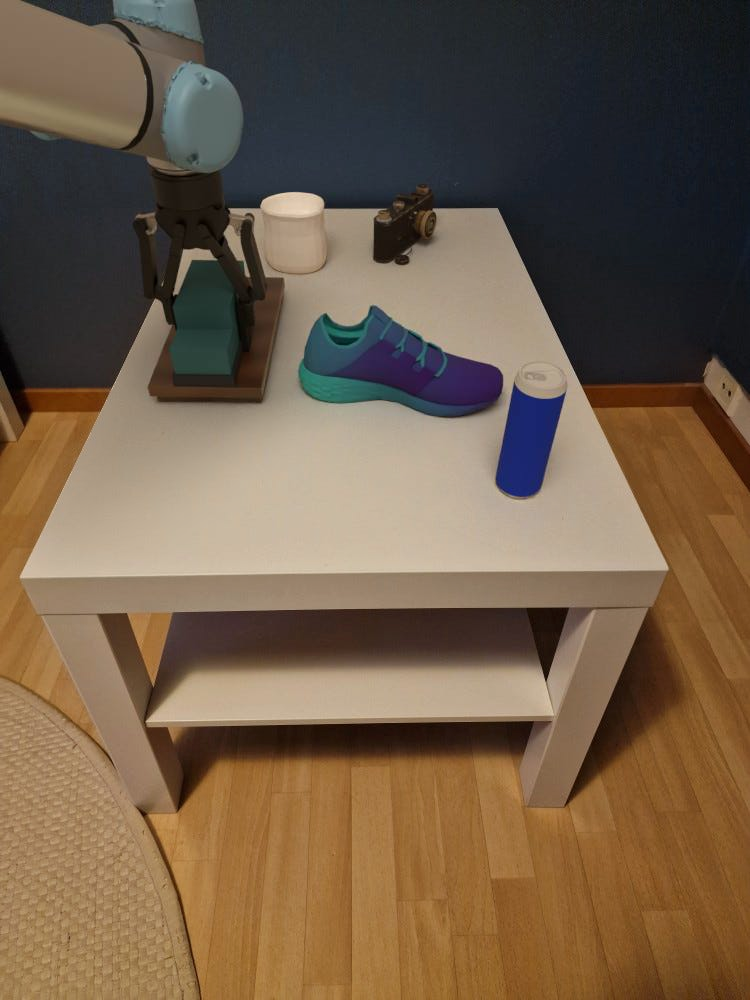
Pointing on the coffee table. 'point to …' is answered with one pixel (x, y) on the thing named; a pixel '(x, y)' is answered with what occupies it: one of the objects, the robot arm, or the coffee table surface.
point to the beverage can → (530, 428)
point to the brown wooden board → (250, 368)
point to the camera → (403, 225)
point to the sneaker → (393, 368)
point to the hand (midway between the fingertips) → (216, 344)
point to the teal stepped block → (206, 328)
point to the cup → (294, 232)
